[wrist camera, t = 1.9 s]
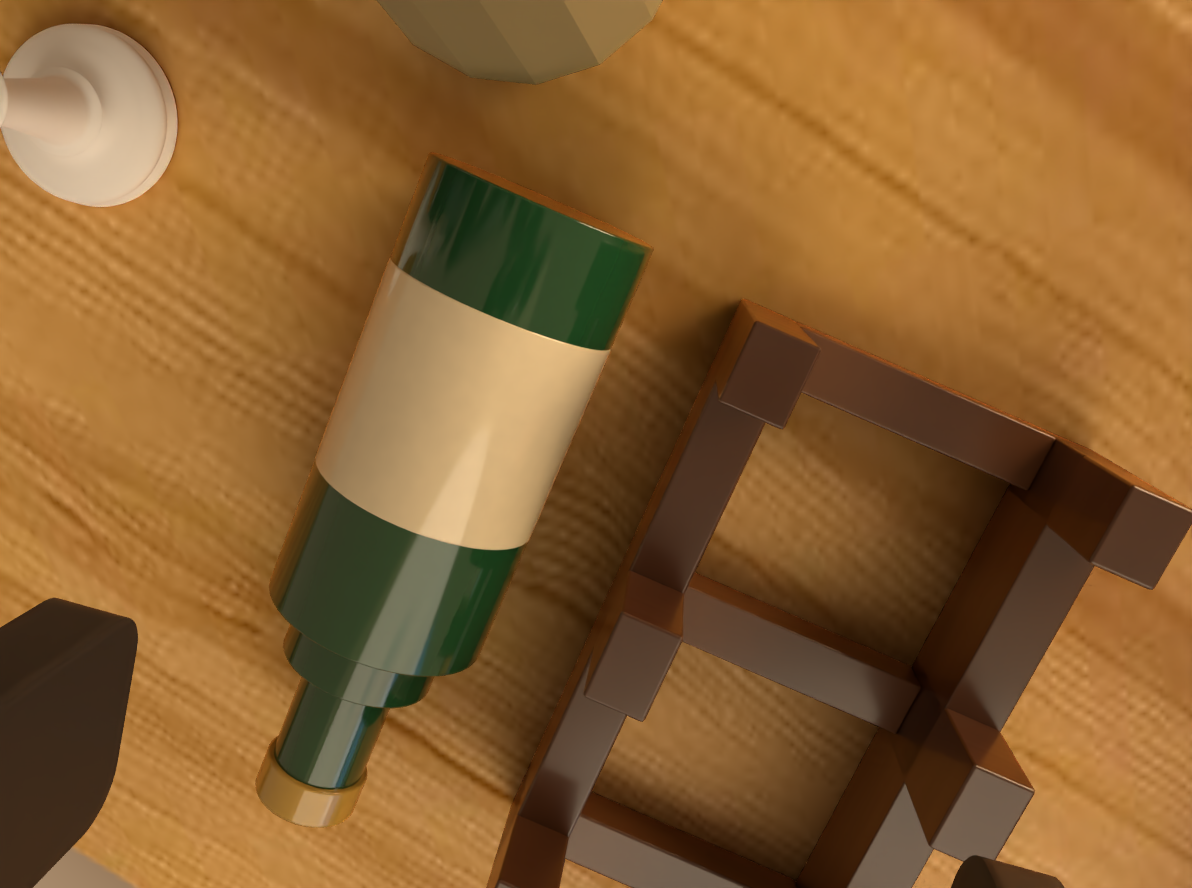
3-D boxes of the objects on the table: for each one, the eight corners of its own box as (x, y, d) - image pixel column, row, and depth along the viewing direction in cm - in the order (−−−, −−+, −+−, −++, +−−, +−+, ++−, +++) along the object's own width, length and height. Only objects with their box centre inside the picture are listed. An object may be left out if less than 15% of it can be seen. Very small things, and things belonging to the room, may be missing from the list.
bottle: (458, 157, 30) (400, 143, 24) (658, 244, 30) (650, 252, 24) (250, 705, 34) (157, 808, 28) (427, 782, 34) (371, 902, 28)
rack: (510, 806, 34) (469, 942, 27) (742, 297, 30) (755, 319, 24) (821, 940, 34) (851, 1108, 27) (1092, 450, 30) (1200, 513, 24)
